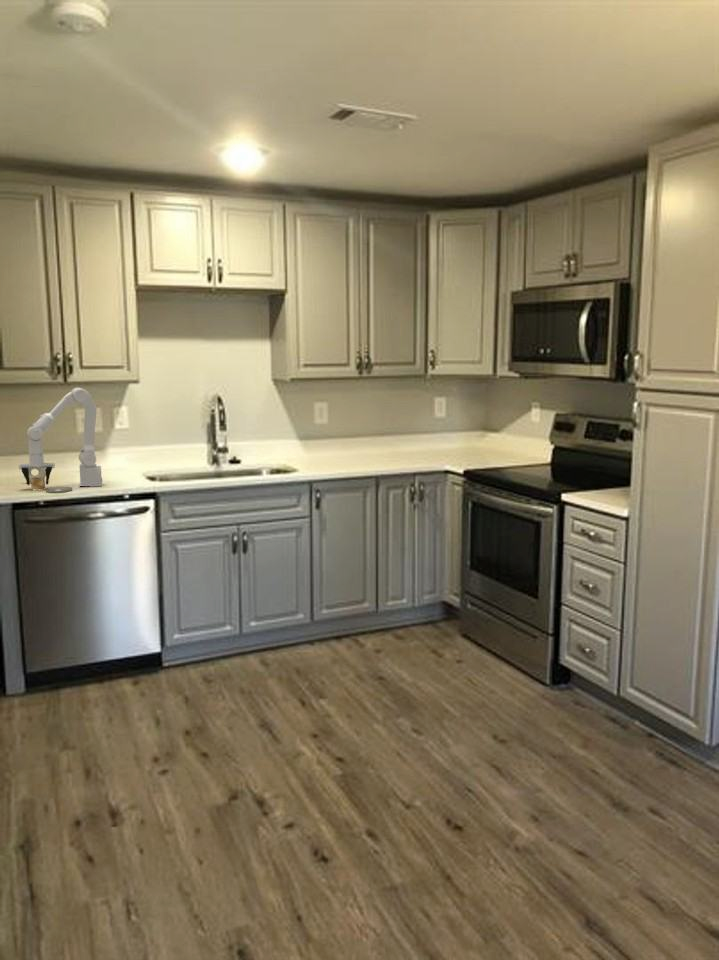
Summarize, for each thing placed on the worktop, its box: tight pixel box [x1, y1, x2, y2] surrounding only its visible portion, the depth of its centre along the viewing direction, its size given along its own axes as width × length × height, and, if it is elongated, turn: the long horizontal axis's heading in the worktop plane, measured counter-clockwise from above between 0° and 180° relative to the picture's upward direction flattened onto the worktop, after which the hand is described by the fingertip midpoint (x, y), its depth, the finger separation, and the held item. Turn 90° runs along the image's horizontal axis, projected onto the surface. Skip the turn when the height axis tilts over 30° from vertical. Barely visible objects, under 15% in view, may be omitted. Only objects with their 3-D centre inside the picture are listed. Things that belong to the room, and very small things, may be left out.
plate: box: [44, 486, 73, 494], centre depth 346 cm, size 11×11×1 cm
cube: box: [30, 477, 46, 490], centre depth 350 cm, size 5×5×5 cm
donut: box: [23, 462, 46, 483], centre depth 366 cm, size 10×4×10 cm, turn 108°
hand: (37, 484), depth 350 cm, fingers open, 7 cm apart
